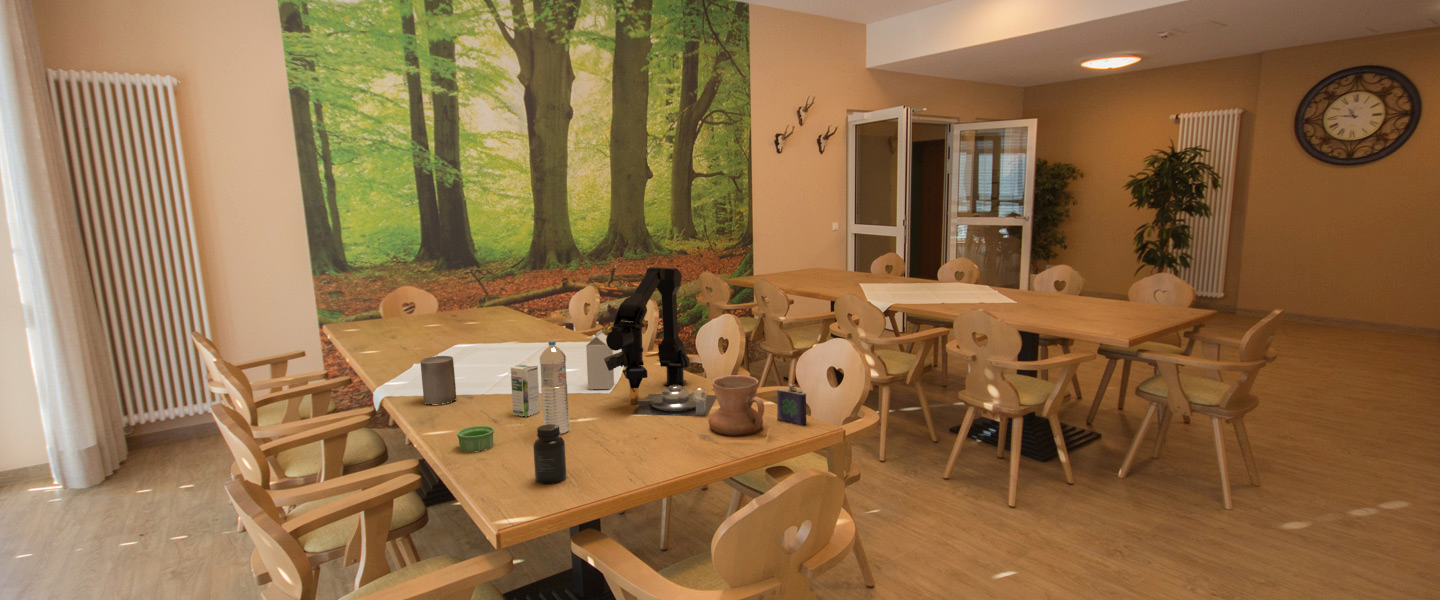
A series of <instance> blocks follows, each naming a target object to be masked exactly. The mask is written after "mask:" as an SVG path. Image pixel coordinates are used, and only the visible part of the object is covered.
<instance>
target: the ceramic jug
mask: <svg viewBox="0 0 1440 600" xmlns="http://www.w3.org/2000/svg"><path fill="white" fill-rule="evenodd" d="M758 388H759V380H758V379H757V378H756V377H753V376H751V375H750V376H749V375H742V374H741V375H739V374H738V375H737V374H736V375H734V374H731V375H730V374H729V375H724V376H721V377H716V378H714V379H712V387H711V388H710V389H711V391H712V392H714V395H716V398H717V399H716V401H717V403H718V405H719V407H718V408H717V409H715V411H713V412H712V413H710V416H709V418H708V424H709V427H710V429H711V430H712V431H713V432H715V433H717V434H719V435H723V436H730V437H732V436H733V437H739V436H740V437H742V436H749V435H752V434H755V433H757V432H758V431H760V430H761V429H762V427H763V424H764V419H763V417H764V414H765V404H764V401H763V399H762V398H760V397H759V396H757V393H758ZM753 403H755V404H756V405H757V410H756V409H754V408H753V407H752V406H753Z"/></svg>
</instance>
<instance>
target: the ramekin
mask: <svg viewBox="0 0 1440 600" xmlns="http://www.w3.org/2000/svg"><path fill="white" fill-rule="evenodd" d="M494 433H495V428H494V427H492V426H489V425H473V426H467V427H464V428H461V429H459V430H458V431H457V432H456V436H457V438H458V444H459V449H460V450H461V451H462V452H464V451H466V453H476V452H475V451H479V452H482V451H481V450H484V451H486V450H485V449H487V450H489V449H491V448H492V447H493V446H492V445H494ZM490 447H491V448H490ZM488 448H489V449H488Z"/></svg>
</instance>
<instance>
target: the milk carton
mask: <svg viewBox="0 0 1440 600" xmlns="http://www.w3.org/2000/svg"><path fill="white" fill-rule="evenodd" d="M606 338H607V335H606V334H604V332H603V329H600V330H599V331H597V332H596V333H595V334H593V335H591V336H590V337H589V340H590V342H589V343H587V344H586V346H585V347H586V350H585V351H586V367H587V369H586V370H587V371H586V372H587V373H586V374H587V389H588V390H593V389H609V390H610V389H612V387H613V386H614V385H615V376H614V375H615V374H614V373H615V372H614V369H615V368H614V369H613V370H611V371H609V370H608V368H607V365H606V363H605V361H604V358H606V357H608V356H611V355H613V354H614V350H612V349H610V348H609V347H608V345H607V343H606Z"/></svg>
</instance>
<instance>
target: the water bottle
mask: <svg viewBox="0 0 1440 600" xmlns="http://www.w3.org/2000/svg"><path fill="white" fill-rule="evenodd" d="M566 361H567V355H566V353H564V351H563V350H561V348H559V347H558V346H556V340H549V341H548V347H546V348H545V349H544V350H543V351H542V352H541V355H540V356H539V363H540V379H541V380H540V382H541V384H540V385H541V387H540V389H541V391H540V392H541V406H542V407H541V408H542V425H548V424H555V425H558V426H559V429H560V435H563V433H564V434H566V433H568V432H569V430H570V418H569V397H568V396H569V395H568V384H567V366H566V365H567V364H566Z"/></svg>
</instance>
